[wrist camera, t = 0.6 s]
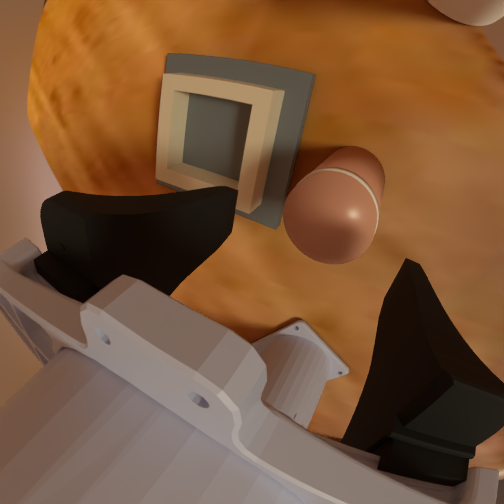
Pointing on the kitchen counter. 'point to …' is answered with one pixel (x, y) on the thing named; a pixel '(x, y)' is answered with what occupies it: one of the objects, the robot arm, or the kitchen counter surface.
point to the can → (471, 10)
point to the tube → (336, 206)
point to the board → (232, 129)
